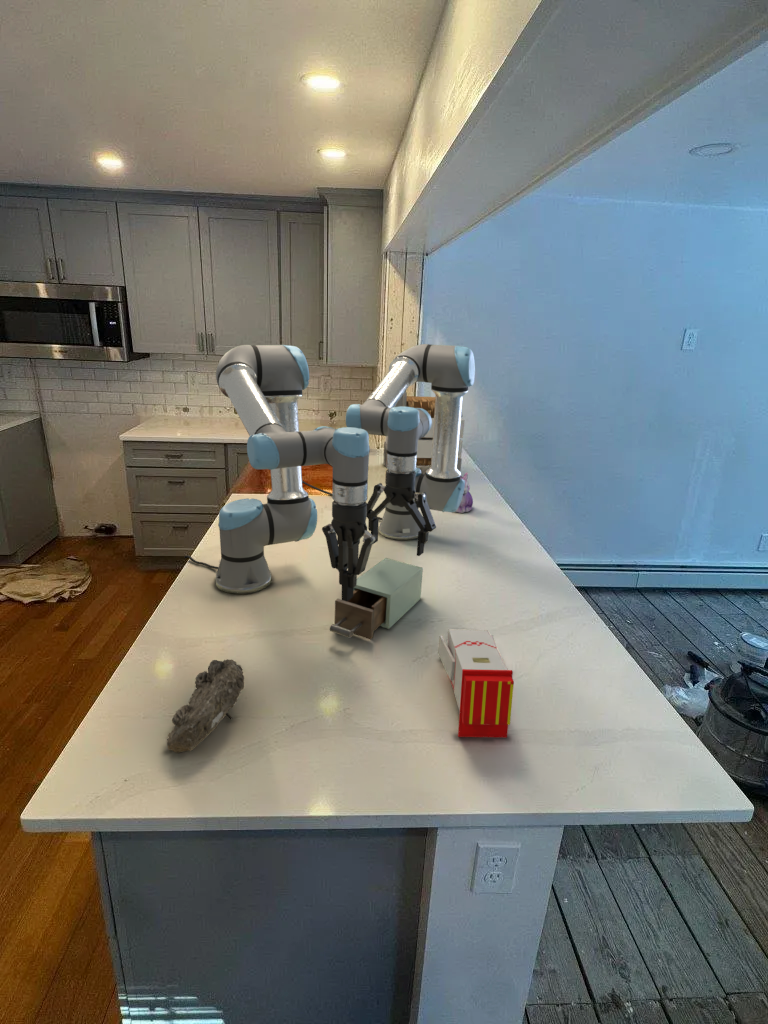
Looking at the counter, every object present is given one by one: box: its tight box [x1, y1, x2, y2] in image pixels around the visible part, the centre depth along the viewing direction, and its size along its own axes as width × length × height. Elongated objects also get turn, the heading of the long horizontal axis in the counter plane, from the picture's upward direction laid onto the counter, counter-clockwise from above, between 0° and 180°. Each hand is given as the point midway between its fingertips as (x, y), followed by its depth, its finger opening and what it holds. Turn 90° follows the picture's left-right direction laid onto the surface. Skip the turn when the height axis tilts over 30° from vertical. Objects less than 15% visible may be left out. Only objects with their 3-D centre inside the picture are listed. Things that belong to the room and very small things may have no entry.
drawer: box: [329, 589, 387, 641], centre depth 139 cm, size 23×10×8 cm, turn 151°
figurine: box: [454, 472, 474, 514], centre depth 225 cm, size 9×10×15 cm
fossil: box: [166, 658, 245, 754], centre depth 106 cm, size 22×10×15 cm
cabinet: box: [353, 557, 424, 630], centre depth 149 cm, size 18×11×10 cm, turn 151°
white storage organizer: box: [383, 390, 465, 474], centre depth 268 cm, size 34×33×41 cm
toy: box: [437, 628, 515, 738], centre depth 117 cm, size 12×13×30 cm
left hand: (347, 598), depth 130 cm, fingers closed
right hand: (396, 548), depth 149 cm, fingers open, 13 cm apart
